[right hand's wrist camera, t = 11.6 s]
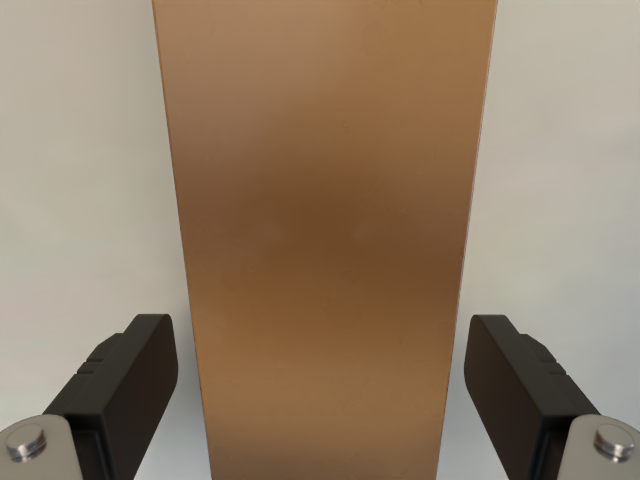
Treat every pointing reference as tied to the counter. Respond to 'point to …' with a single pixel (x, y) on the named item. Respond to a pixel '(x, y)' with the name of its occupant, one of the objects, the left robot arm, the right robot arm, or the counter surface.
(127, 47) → the counter surface
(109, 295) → the counter surface
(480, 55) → the post
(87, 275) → the counter surface
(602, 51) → the counter surface
